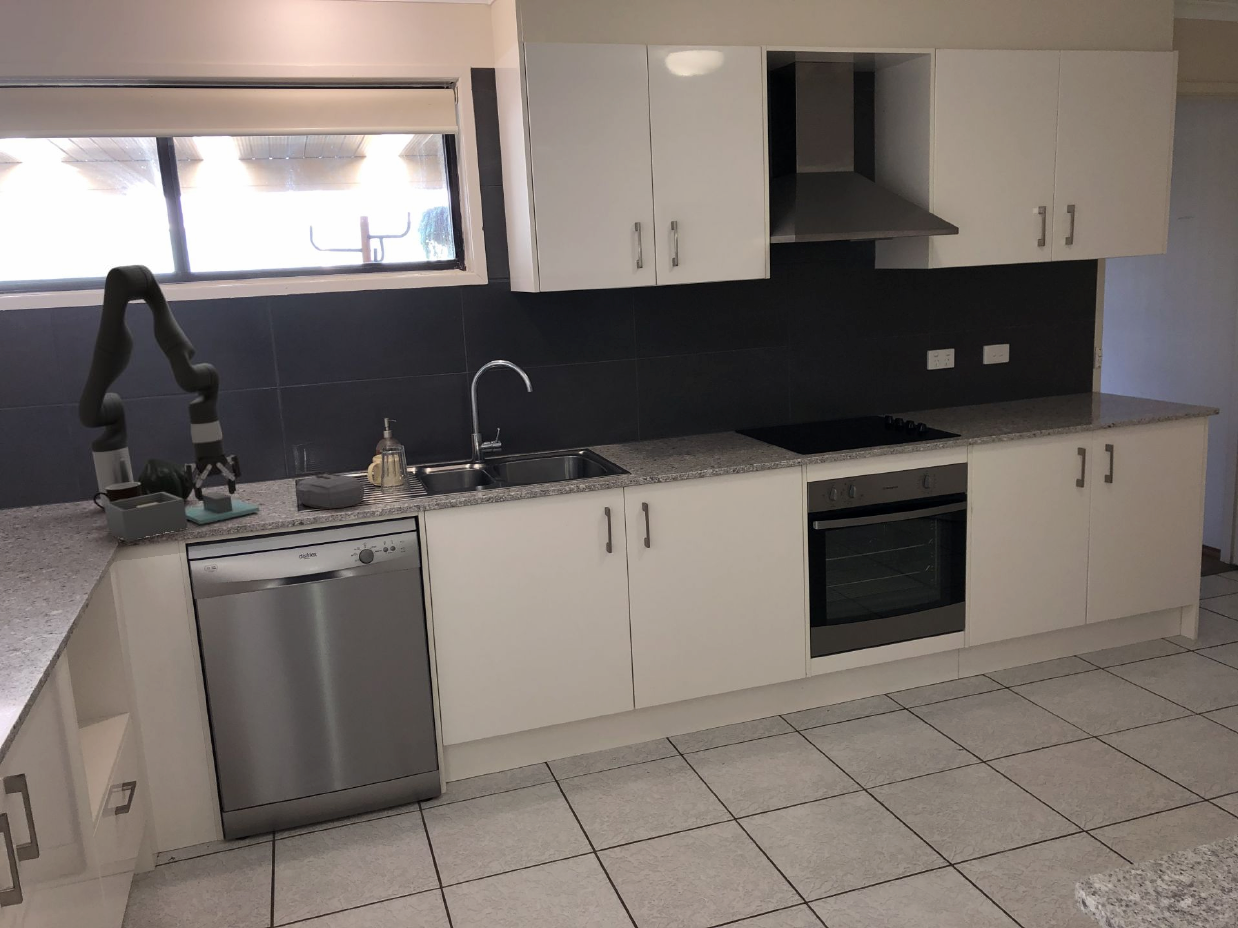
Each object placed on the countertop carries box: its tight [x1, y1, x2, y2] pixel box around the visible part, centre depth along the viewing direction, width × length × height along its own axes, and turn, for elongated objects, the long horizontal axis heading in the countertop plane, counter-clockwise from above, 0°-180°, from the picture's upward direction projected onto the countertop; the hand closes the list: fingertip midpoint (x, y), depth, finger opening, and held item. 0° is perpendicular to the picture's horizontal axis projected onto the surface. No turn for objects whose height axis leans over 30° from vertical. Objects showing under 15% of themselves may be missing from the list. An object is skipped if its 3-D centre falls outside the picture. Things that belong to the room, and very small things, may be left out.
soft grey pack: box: [295, 472, 366, 510], centre depth 275 cm, size 15×8×20 cm
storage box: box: [104, 492, 189, 543], centre depth 258 cm, size 15×15×8 cm
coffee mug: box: [92, 481, 141, 511], centre depth 271 cm, size 12×9×10 cm
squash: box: [137, 457, 194, 501], centre depth 287 cm, size 14×15×15 cm
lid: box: [185, 491, 260, 525], centre depth 270 cm, size 16×16×6 cm
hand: (216, 497), depth 270 cm, fingers open, 8 cm apart
